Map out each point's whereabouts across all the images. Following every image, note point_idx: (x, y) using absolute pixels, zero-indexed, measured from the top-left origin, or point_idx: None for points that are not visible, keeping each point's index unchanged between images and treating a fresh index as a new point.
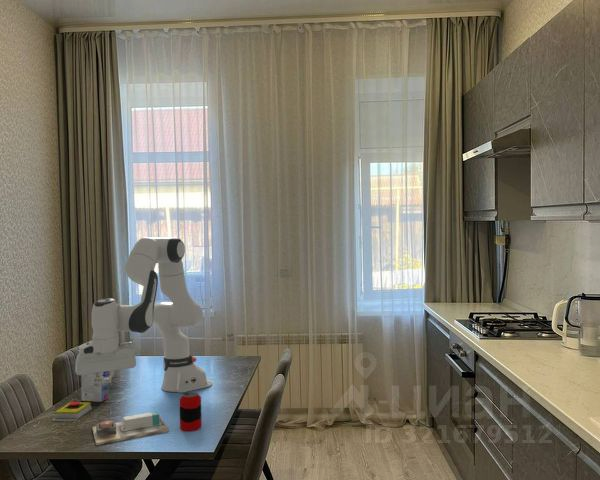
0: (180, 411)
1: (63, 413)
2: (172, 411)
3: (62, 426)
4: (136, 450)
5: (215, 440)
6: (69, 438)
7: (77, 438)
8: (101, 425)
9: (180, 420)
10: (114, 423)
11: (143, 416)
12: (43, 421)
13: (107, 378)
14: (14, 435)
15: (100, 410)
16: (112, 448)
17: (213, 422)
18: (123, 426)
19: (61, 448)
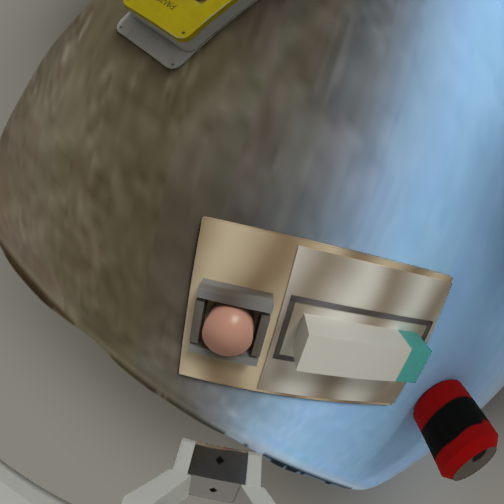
0: (434, 439)
1: (144, 18)
2: (495, 247)
3: (121, 107)
4: (263, 447)
5: (407, 466)
6: (116, 255)
7: (138, 274)
8: (205, 341)
9: (425, 420)
10: (263, 333)
11: (369, 374)
12: (95, 25)
13: (219, 493)
14: (13, 116)
15: (306, 17)
16: (216, 411)
17: (481, 393)
18: (305, 309)
19: (91, 318)
